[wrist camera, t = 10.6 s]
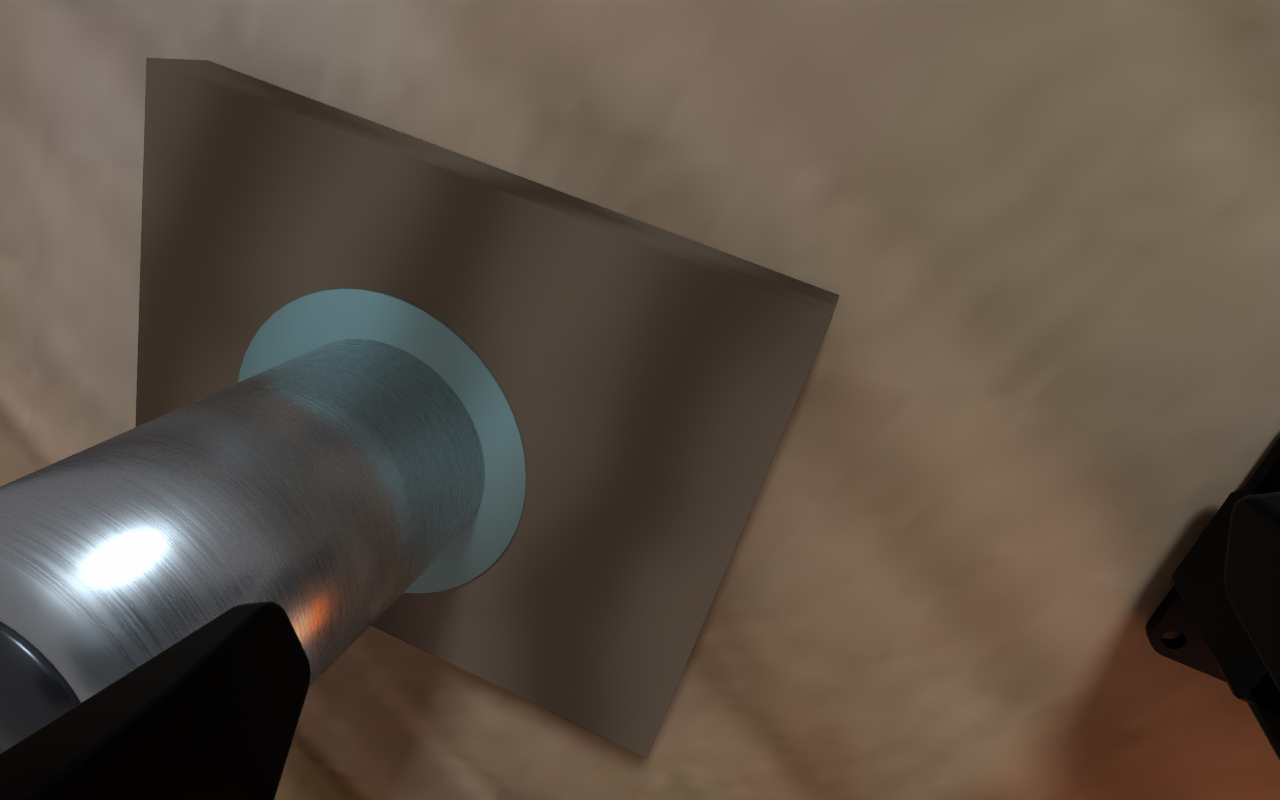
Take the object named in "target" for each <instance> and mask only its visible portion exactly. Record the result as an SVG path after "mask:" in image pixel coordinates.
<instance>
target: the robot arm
mask: <svg viewBox="0 0 1280 800" xmlns="http://www.w3.org/2000/svg"><path fill="white" fill-rule="evenodd" d="M1172 579H1173V582H1174V584H1175V585H1174V586H1173V588H1172V589H1171V590H1170V592H1169V593H1168V594H1167V596H1166V597H1165V599H1164V600H1163V601H1162V603H1161V604H1160V606H1159V607H1158V608H1157V610H1156V611H1155V613H1154V614H1153V615H1152V617H1151V618H1150V619H1149V621H1148V623H1147V625H1146V635H1147V637H1148V639H1149V642H1150V644H1151V646H1152V647H1153V648H1154V650H1155V651H1156V652H1158V653H1159V654H1161V655H1163V656H1165V657H1167V658H1170V659H1172V660H1175V661H1177V662H1179V663H1182V664H1184V665H1187V666H1189V667H1191V668H1194V669H1196V670H1199V671H1201V672H1203V673H1206V674H1208V675H1211V676H1213V677H1215V678H1218V679H1220V680H1223V681H1225V682H1227V684H1228V686H1229V687H1230V689H1231V691H1232V693H1233V695H1234V696H1236V697H1237V698H1238V699H1241V700H1243V701H1245V702H1247V703H1248V705H1249V706H1250V708H1251V710H1252V712H1253V714H1254V715H1255V717H1256V719H1257V721H1258V723H1259V724H1260V726H1261V728H1262V730H1263V732H1264V733H1265V735H1266V737H1267V739H1268V741H1269V742H1270V744H1271V746H1272V748H1273V750H1274V751H1275V753H1276V755H1277V757H1278V758H1279V760H1280V439H1279V440H1278V442H1277V443H1276V445H1275V446H1274V447H1273V449H1272V450H1271V452H1270V453H1269V454H1268V456H1267V457H1266V458H1265V460H1264V461H1263V463H1262V464H1261V465H1260V467H1259V468H1258V470H1257V471H1256V472H1255V474H1254V475H1253V476H1252V478H1251V479H1250V481H1249V482H1248V483H1247V485H1246V486H1245V487H1244V488H1242V489H1239V490H1237V491H1234V492H1232V493H1231V494H1230V495H1229V496H1228V498H1227V499H1226V501H1225V502H1224V503H1223V505H1222V506H1221V508H1220V509H1219V510H1218V512H1217V513H1216V515H1215V516H1214V517H1213V519H1212V520H1211V522H1210V523H1209V524H1208V526H1207V527H1206V529H1205V530H1204V531H1203V533H1202V534H1201V536H1200V537H1199V538H1198V540H1197V541H1196V543H1195V544H1194V545H1193V547H1192V548H1191V550H1190V551H1189V552H1188V554H1187V555H1186V557H1185V558H1184V559H1183V561H1182V562H1181V564H1180V565H1179V566H1178V568H1177V569H1176V571H1175V572H1174V573H1173V575H1172ZM1169 631H1179V632H1181V634H1180V635H1179V636H1178V637H1176V638H1173V639H1166V638H1163V635H1164V634H1165V633H1167V632H1169ZM310 676H311V672H310V664H309V660H308V657H307V655H306V653H305V651H304V649H303V647H302V644H301V642H300V640H299V638H298V636H297V634H296V632H295V630H294V628H293V626H292V624H291V621H290V619H289V617H288V615H287V613H286V611H285V610H284V608H283V607H282V606H281V605H279V604H278V603H276V602H272V601H266V602H256V603H247V604H240V605H237V606H234V607H232V608H230V609H229V610H227V611H226V612H224V613H223V614H221V615H219V616H218V617H216V618H215V619H213V620H211V621H210V622H208V623H207V624H205V625H204V626H202V627H200V628H199V629H197V630H196V631H194V632H192V633H191V634H189V635H188V636H186V637H185V638H183V639H181V640H180V641H178V642H177V643H175V644H173V645H172V646H170V647H169V648H167V649H166V650H164V651H162V652H161V653H159V654H158V655H156V656H154V657H153V658H151V659H150V660H148V661H147V662H145V663H143V664H142V665H140V666H139V667H137V668H135V669H134V670H132V671H131V672H129V673H128V674H126V675H124V676H123V677H121V678H120V679H118V680H116V681H115V682H113V683H112V684H110V685H109V686H107V687H105V688H104V689H102V690H101V691H99V692H97V693H96V694H94V695H93V696H91V697H89V698H88V699H86V700H85V701H83V702H82V703H80V704H78V705H77V706H75V707H74V708H72V709H70V710H69V711H67V712H66V713H64V714H63V715H61V716H59V717H58V718H56V719H55V720H53V721H51V722H50V723H48V724H47V725H45V726H44V727H42V728H40V729H39V730H37V731H36V732H34V733H32V734H31V735H29V736H28V737H26V738H25V739H23V740H21V741H20V742H18V743H17V744H15V745H13V746H12V747H10V748H9V749H7V750H6V751H4V752H2V753H1V754H0V800H274V798H275V795H276V792H277V789H278V785H279V782H280V779H281V776H282V772H283V769H284V766H285V763H286V759H287V756H288V753H289V750H290V746H291V743H292V740H293V737H294V733H295V730H296V727H297V724H298V721H299V717H300V714H301V711H302V708H303V704H304V701H305V698H306V695H307V691H308V688H309V684H310Z"/></svg>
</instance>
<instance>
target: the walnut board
mask: <svg viewBox="0 0 1280 800" xmlns="http://www.w3.org/2000/svg"><path fill="white" fill-rule="evenodd" d="M838 297H839V295H837V294H834V293H832V292H829V291H826V290H823V289H821V288H818V287H815V286H813V285H810V284H807V283H805V282H802V281H799V280H797V279H794V278H791V277H789V276H786V275H783V274H780V273H778V272H775V271H772V270H770V269H767V268H764V267H762V266H759V265H756V264H754V263H751V262H748V261H745V260H743V259H740V258H737V257H735V256H732V255H729V254H727V253H724V252H721V251H719V250H716V249H713V248H711V247H708V246H705V245H702V244H700V243H697V242H694V241H692V240H689V239H686V238H684V237H681V236H678V235H676V234H673V233H670V232H668V231H665V230H662V229H659V228H657V227H654V226H651V225H649V224H646V223H643V222H641V221H638V220H635V219H633V218H630V217H627V216H624V215H622V214H619V213H616V212H614V211H611V210H608V209H606V208H603V207H600V206H598V205H595V204H592V203H590V202H587V201H584V200H581V199H579V198H576V197H573V196H571V195H568V194H565V193H563V192H560V191H557V190H555V189H552V188H549V187H546V186H544V185H541V184H538V183H536V182H533V181H530V180H528V179H525V178H522V177H520V176H517V175H514V174H512V173H509V172H506V171H503V170H501V169H498V168H495V167H493V166H490V165H487V164H485V163H482V162H479V161H477V160H474V159H471V158H468V157H466V156H463V155H460V154H458V153H455V152H452V151H450V150H447V149H444V148H442V147H439V146H436V145H434V144H431V143H428V142H425V141H423V140H420V139H417V138H415V137H412V136H409V135H407V134H404V133H401V132H399V131H396V130H393V129H390V128H388V127H385V126H382V125H380V124H377V123H374V122H372V121H369V120H366V119H364V118H361V117H358V116H356V115H353V114H350V113H347V112H345V111H342V110H339V109H337V108H334V107H331V106H329V105H326V104H323V103H321V102H318V101H315V100H313V99H310V98H307V97H304V96H302V95H299V94H296V93H294V92H291V91H288V90H286V89H283V88H280V87H278V86H275V85H272V84H269V83H267V82H264V81H261V80H259V79H256V78H253V77H251V76H248V75H245V74H243V73H240V72H237V71H235V70H232V69H229V68H226V67H224V66H221V65H218V64H216V63H213V62H210V61H207V60H183V59H159V58H147V64H146V97H145V131H144V165H143V198H142V232H141V265H140V299H139V332H138V366H137V400H136V427H138V426H140V425H142V424H145V423H147V422H149V421H152V420H154V419H156V418H158V417H161V416H163V415H165V414H168V413H170V412H172V411H174V410H177V409H179V408H181V407H184V406H186V405H188V404H190V403H193V402H195V401H197V400H200V399H202V398H204V397H206V396H209V395H211V394H213V393H216V392H218V391H220V390H222V389H225V388H227V387H229V386H231V385H234V384H236V383H238V382H241V381H243V380H245V379H247V378H250V377H252V376H254V375H257V374H259V373H261V372H263V371H266V370H268V369H270V368H273V367H275V366H277V365H279V364H282V363H284V362H286V361H289V360H291V359H293V358H295V357H298V356H300V355H302V354H305V353H307V352H309V351H311V350H314V349H316V348H318V347H321V346H323V345H326V344H328V343H331V342H334V341H339V340H345V339H367V340H375V341H378V342H382V343H386V344H390V345H392V346H394V347H397V348H399V349H402V350H404V351H406V352H408V353H409V354H411V355H413V356H415V357H417V358H418V359H420V360H421V361H422V362H424V363H425V364H427V365H428V366H429V367H431V368H432V369H433V370H434V371H435V372H436V373H437V374H438V375H440V376H441V377H442V378H443V379H444V380H445V382H446V383H447V384H448V385H449V386H450V387H451V388H452V389H453V391H454V392H455V393H456V395H457V396H458V397H459V399H460V400H461V402H462V403H463V405H464V406H465V408H466V410H467V412H468V413H469V415H470V417H471V419H472V421H473V424H474V426H475V428H476V430H477V433H478V436H479V440H480V443H481V446H482V451H483V457H484V465H485V482H484V491H483V495H482V500H481V503H480V506H479V508H478V511H477V513H476V515H475V517H474V519H473V520H472V522H471V524H470V525H469V526H468V527H467V529H466V530H465V531H464V532H463V533H462V534H461V535H460V536H459V537H458V538H457V539H456V540H455V541H454V542H453V543H452V544H451V545H450V546H449V547H448V548H447V549H446V550H445V551H444V552H443V553H442V554H441V555H440V556H439V557H438V558H437V559H436V560H435V561H434V562H433V563H432V564H431V565H430V566H429V567H428V568H427V569H426V570H425V571H424V572H423V573H422V574H421V575H420V576H419V577H418V578H417V579H416V580H415V581H414V582H413V583H412V584H411V585H410V586H409V587H408V588H407V589H406V590H405V591H404V592H403V593H402V594H401V595H400V596H399V597H398V598H397V599H396V600H395V601H394V602H393V603H392V604H391V605H390V606H389V607H388V608H387V609H386V610H385V611H384V612H383V613H382V614H381V615H380V616H379V617H378V618H377V619H376V620H375V621H374V622H373V623H372V624H371V626H373V627H375V628H377V629H379V630H381V631H384V632H386V633H388V634H390V635H392V636H394V637H396V638H398V639H400V640H402V641H404V642H406V643H408V644H411V645H413V646H415V647H417V648H419V649H421V650H423V651H425V652H427V653H429V654H431V655H433V656H435V657H437V658H440V659H442V660H444V661H446V662H448V663H450V664H452V665H454V666H456V667H458V668H460V669H462V670H464V671H467V672H469V673H471V674H473V675H475V676H477V677H479V678H481V679H483V680H485V681H487V682H489V683H491V684H493V685H496V686H498V687H500V688H502V689H504V690H506V691H508V692H510V693H512V694H514V695H516V696H518V697H520V698H522V699H525V700H527V701H529V702H531V703H533V704H535V705H537V706H539V707H541V708H543V709H545V710H547V711H549V712H552V713H554V714H556V715H558V716H560V717H562V718H564V719H566V720H568V721H570V722H572V723H574V724H576V725H578V726H581V727H583V728H585V729H587V730H589V731H591V732H593V733H595V734H597V735H599V736H601V737H603V738H605V739H608V740H610V741H612V742H614V743H616V744H618V745H620V746H622V747H624V748H626V749H628V750H630V751H632V752H634V753H637V754H639V755H641V756H643V757H645V758H647V757H648V755H649V752H650V750H651V747H652V745H653V743H654V740H655V738H656V736H657V733H658V731H659V728H660V726H661V724H662V721H663V719H664V716H665V714H666V712H667V709H668V707H669V705H670V702H671V700H672V697H673V695H674V693H675V690H676V688H677V685H678V683H679V681H680V678H681V676H682V674H683V671H684V669H685V666H686V664H687V662H688V659H689V657H690V654H691V652H692V650H693V647H694V645H695V643H696V640H697V638H698V635H699V633H700V631H701V628H702V626H703V623H704V621H705V619H706V616H707V614H708V612H709V609H710V607H711V604H712V602H713V600H714V597H715V595H716V592H717V590H718V588H719V585H720V583H721V581H722V578H723V576H724V573H725V571H726V569H727V566H728V564H729V561H730V559H731V557H732V554H733V552H734V550H735V547H736V545H737V542H738V540H739V538H740V535H741V533H742V530H743V528H744V526H745V523H746V521H747V519H748V516H749V514H750V511H751V509H752V507H753V504H754V502H755V499H756V497H757V495H758V492H759V490H760V488H761V485H762V483H763V480H764V478H765V476H766V473H767V471H768V468H769V466H770V464H771V461H772V459H773V457H774V454H775V452H776V449H777V447H778V445H779V442H780V440H781V437H782V435H783V433H784V430H785V428H786V426H787V423H788V421H789V418H790V416H791V414H792V411H793V409H794V406H795V404H796V402H797V399H798V397H799V395H800V392H801V390H802V387H803V385H804V383H805V380H806V378H807V375H808V373H809V371H810V368H811V366H812V364H813V361H814V359H815V356H816V354H817V352H818V349H819V347H820V344H821V342H822V340H823V337H824V335H825V333H826V330H827V328H828V325H829V323H830V321H831V318H832V316H833V313H834V310H835V307H836V304H837V300H838Z"/></svg>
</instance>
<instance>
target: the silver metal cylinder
mask: <svg viewBox="0 0 1280 800" xmlns="http://www.w3.org/2000/svg"><path fill="white" fill-rule="evenodd" d="M484 482H485V465H484V457H483V451H482V446H481V443H480V440H479V436H478V433H477V430H476V428H475V426H474V424H473V421H472V419H471V417H470V415H469V413H468V412H467V410H466V408H465V406H464V405H463V403H462V402H461V400H460V399H459V397H458V396H457V395H456V393H455V392H454V391H453V389H452V388H451V387H450V386H449V385H448V384H447V383H446V382H445V380H444V379H443V378H442V377H441V376H440V375H438V374H437V373H436V372H435V371H434V370H433V369H432V368H431V367H429V366H428V365H427V364H425V363H424V362H422V361H421V360H420V359H418V358H417V357H415V356H413V355H411V354H409V353H408V352H406V351H404V350H402V349H399V348H397V347H394V346H392V345H390V344H386V343H382V342H378V341H375V340H367V339H345V340H339V341H334V342H331V343H328V344H326V345H323V346H321V347H318V348H316V349H314V350H311V351H309V352H307V353H305V354H302V355H300V356H298V357H295V358H293V359H291V360H289V361H286V362H284V363H282V364H279V365H277V366H275V367H273V368H270V369H268V370H266V371H263V372H261V373H259V374H257V375H254V376H252V377H250V378H247V379H245V380H243V381H241V382H238V383H236V384H234V385H231V386H229V387H227V388H225V389H222V390H220V391H218V392H216V393H213V394H211V395H209V396H206V397H204V398H202V399H200V400H197V401H195V402H193V403H190V404H188V405H186V406H184V407H181V408H179V409H177V410H174V411H172V412H170V413H168V414H165V415H163V416H161V417H158V418H156V419H154V420H152V421H149V422H147V423H145V424H142V425H140V426H138V427H136V428H133V429H131V430H129V431H126V432H124V433H122V434H120V435H117V436H115V437H113V438H110V439H108V440H106V441H104V442H101V443H99V444H97V445H95V446H92V447H90V448H88V449H85V450H83V451H81V452H79V453H76V454H74V455H72V456H69V457H67V458H65V459H63V460H60V461H58V462H56V463H53V464H51V465H49V466H47V467H44V468H42V469H40V470H37V471H35V472H33V473H31V474H28V475H26V476H24V477H21V478H19V479H17V480H15V481H12V482H10V483H8V484H6V485H3V486H1V487H0V754H1V753H2V752H4V751H6V750H7V749H9V748H10V747H12V746H13V745H15V744H17V743H18V742H20V741H21V740H23V739H25V738H26V737H28V736H29V735H31V734H32V733H34V732H36V731H37V730H39V729H40V728H42V727H44V726H45V725H47V724H48V723H50V722H51V721H53V720H55V719H56V718H58V717H59V716H61V715H63V714H64V713H66V712H67V711H69V710H70V709H72V708H74V707H75V706H77V705H78V704H80V703H82V702H83V701H85V700H86V699H88V698H89V697H91V696H93V695H94V694H96V693H97V692H99V691H101V690H102V689H104V688H105V687H107V686H109V685H110V684H112V683H113V682H115V681H116V680H118V679H120V678H121V677H123V676H124V675H126V674H128V673H129V672H131V671H132V670H134V669H135V668H137V667H139V666H140V665H142V664H143V663H145V662H147V661H148V660H150V659H151V658H153V657H154V656H156V655H158V654H159V653H161V652H162V651H164V650H166V649H167V648H169V647H170V646H172V645H173V644H175V643H177V642H178V641H180V640H181V639H183V638H185V637H186V636H188V635H189V634H191V633H192V632H194V631H196V630H197V629H199V628H200V627H202V626H204V625H205V624H207V623H208V622H210V621H211V620H213V619H215V618H216V617H218V616H219V615H221V614H223V613H224V612H226V611H227V610H229V609H230V608H232V607H234V606H237V605H240V604H247V603H256V602H266V601H272V602H276V603H278V604H279V605H281V606H282V607H283V608H284V610H285V611H286V613H287V615H288V617H289V619H290V621H291V624H292V626H293V628H294V630H295V632H296V634H297V636H298V638H299V640H300V642H301V644H302V647H303V649H304V651H305V653H306V655H307V657H308V660H309V664H310V672H311V676H310V684H309V686H310V685H311V684H312V683H313V682H314V681H315V680H316V679H317V678H318V677H319V676H320V675H321V674H322V673H323V672H324V671H325V670H326V669H327V668H328V667H329V666H330V665H331V664H332V663H333V662H334V661H335V660H336V659H337V658H338V657H339V656H340V655H341V654H342V653H343V652H344V651H345V650H346V649H347V648H348V647H349V646H350V645H351V644H352V643H353V642H354V641H355V640H356V639H357V638H358V637H359V636H360V635H361V634H362V633H363V632H364V631H365V630H366V629H367V628H368V627H369V626H370V625H371V624H372V623H373V622H374V621H375V620H376V619H377V618H378V617H379V616H380V615H381V614H382V613H383V612H384V611H385V610H386V609H387V608H388V607H389V606H390V605H391V604H392V603H393V602H394V601H395V600H396V599H397V598H398V597H399V596H400V595H401V594H402V593H403V592H404V591H405V590H406V589H407V588H408V587H409V586H410V585H411V584H412V583H413V582H414V581H415V580H416V579H417V578H418V577H419V576H420V575H421V574H422V573H423V572H424V571H425V570H426V569H427V568H428V567H429V566H430V565H431V564H432V563H433V562H434V561H435V560H436V559H437V558H438V557H439V556H440V555H441V554H442V553H443V552H444V551H445V550H446V549H447V548H448V547H449V546H450V545H451V544H452V543H453V542H454V541H455V540H456V539H457V538H458V537H459V536H460V535H461V534H462V533H463V532H464V531H465V530H466V529H467V527H468V526H469V525H470V524H471V522H472V520H473V519H474V517H475V515H476V513H477V511H478V508H479V506H480V503H481V500H482V495H483V491H484Z"/></svg>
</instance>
